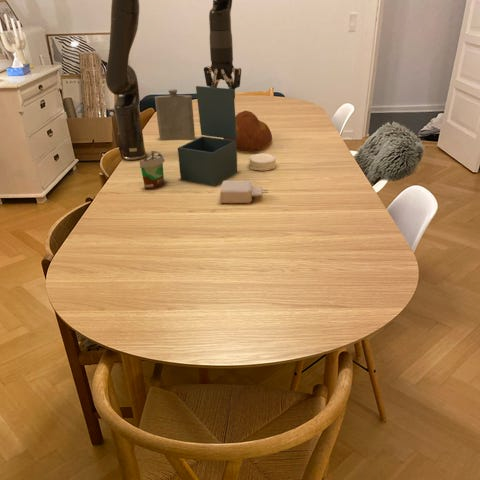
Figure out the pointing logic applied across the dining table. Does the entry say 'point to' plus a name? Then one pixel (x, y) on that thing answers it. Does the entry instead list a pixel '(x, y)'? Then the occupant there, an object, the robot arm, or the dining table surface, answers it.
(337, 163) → the dining table surface
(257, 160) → the white round disc
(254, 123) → the bread
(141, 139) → the robot arm
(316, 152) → the dining table surface
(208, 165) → the cool chest
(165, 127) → the hip flask
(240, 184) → the charger
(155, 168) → the food container
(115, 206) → the dining table surface
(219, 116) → the lid
